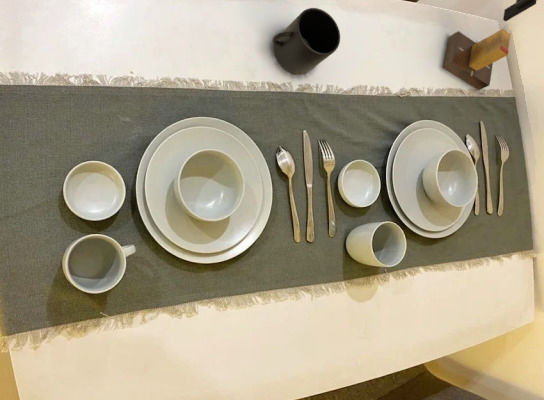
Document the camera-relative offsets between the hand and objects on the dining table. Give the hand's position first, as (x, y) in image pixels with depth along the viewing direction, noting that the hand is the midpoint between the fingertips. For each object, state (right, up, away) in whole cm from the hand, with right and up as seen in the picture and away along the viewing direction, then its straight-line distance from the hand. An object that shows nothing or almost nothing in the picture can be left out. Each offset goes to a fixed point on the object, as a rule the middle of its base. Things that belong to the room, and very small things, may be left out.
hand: (527, 31), depth 101 cm
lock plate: (-6, -3, +14) cm, 16 cm away
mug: (-52, -6, -5) cm, 52 cm away
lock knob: (-5, -2, +12) cm, 13 cm away
